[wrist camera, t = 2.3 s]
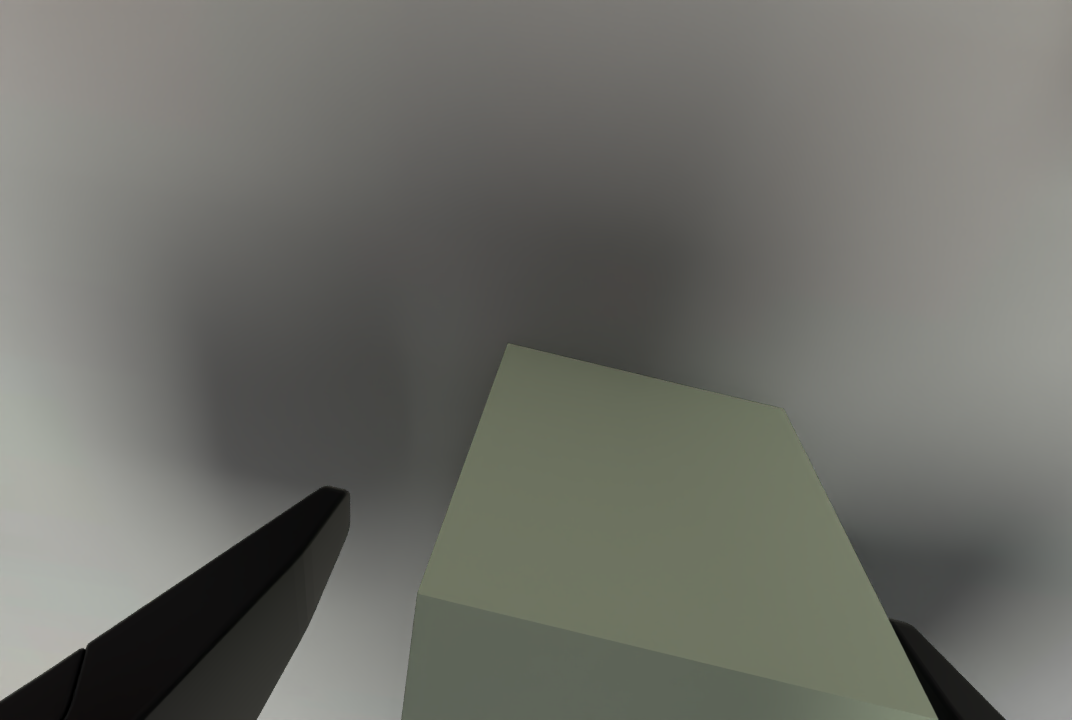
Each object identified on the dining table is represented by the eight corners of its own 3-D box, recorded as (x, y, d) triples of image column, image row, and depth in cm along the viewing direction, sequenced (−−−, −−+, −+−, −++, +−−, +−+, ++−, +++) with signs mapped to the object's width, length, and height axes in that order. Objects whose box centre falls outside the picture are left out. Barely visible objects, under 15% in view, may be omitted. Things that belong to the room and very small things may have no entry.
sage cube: (782, 406, 9) (938, 719, 5) (684, 578, 12) (727, 879, 7) (509, 340, 9) (417, 593, 5) (471, 526, 12) (391, 797, 7)
